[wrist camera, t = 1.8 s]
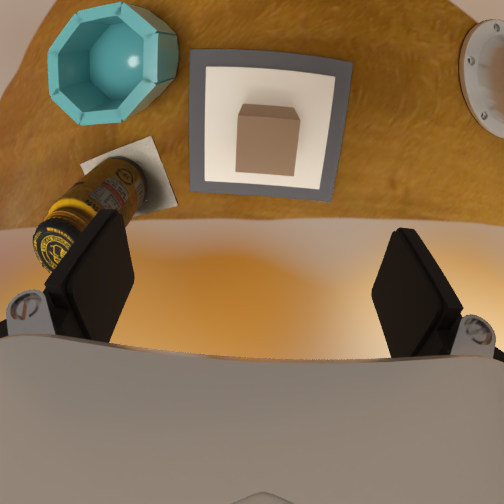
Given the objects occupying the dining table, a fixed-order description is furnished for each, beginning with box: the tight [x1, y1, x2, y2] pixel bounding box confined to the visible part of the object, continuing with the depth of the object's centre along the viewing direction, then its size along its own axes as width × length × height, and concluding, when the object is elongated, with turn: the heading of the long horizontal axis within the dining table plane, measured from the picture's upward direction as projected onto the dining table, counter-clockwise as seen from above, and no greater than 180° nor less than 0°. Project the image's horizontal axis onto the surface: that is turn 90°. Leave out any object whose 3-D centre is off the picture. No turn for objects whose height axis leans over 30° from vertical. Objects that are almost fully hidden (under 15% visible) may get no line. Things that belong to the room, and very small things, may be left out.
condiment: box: [33, 136, 178, 274], centre depth 24 cm, size 7×8×12 cm
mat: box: [189, 49, 353, 202], centre depth 25 cm, size 13×13×1 cm
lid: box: [205, 66, 335, 189], centre depth 22 cm, size 10×10×6 cm
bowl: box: [48, 2, 179, 125], centre depth 19 cm, size 9×9×6 cm
